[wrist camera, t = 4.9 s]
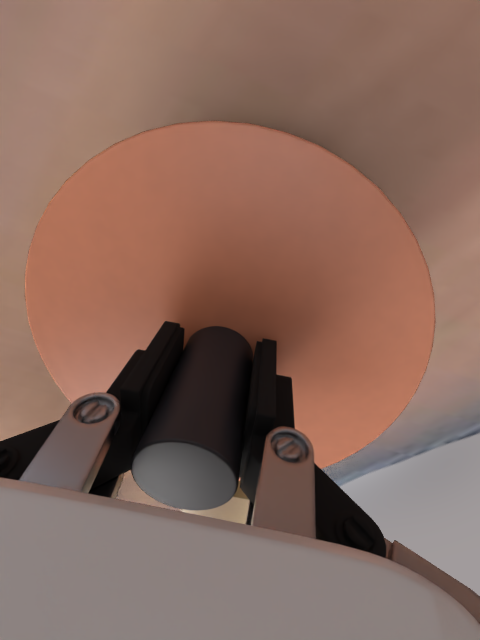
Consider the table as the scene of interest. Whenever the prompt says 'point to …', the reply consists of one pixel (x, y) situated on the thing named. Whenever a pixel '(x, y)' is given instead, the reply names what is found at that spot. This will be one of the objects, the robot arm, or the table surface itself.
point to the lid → (231, 294)
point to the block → (228, 509)
